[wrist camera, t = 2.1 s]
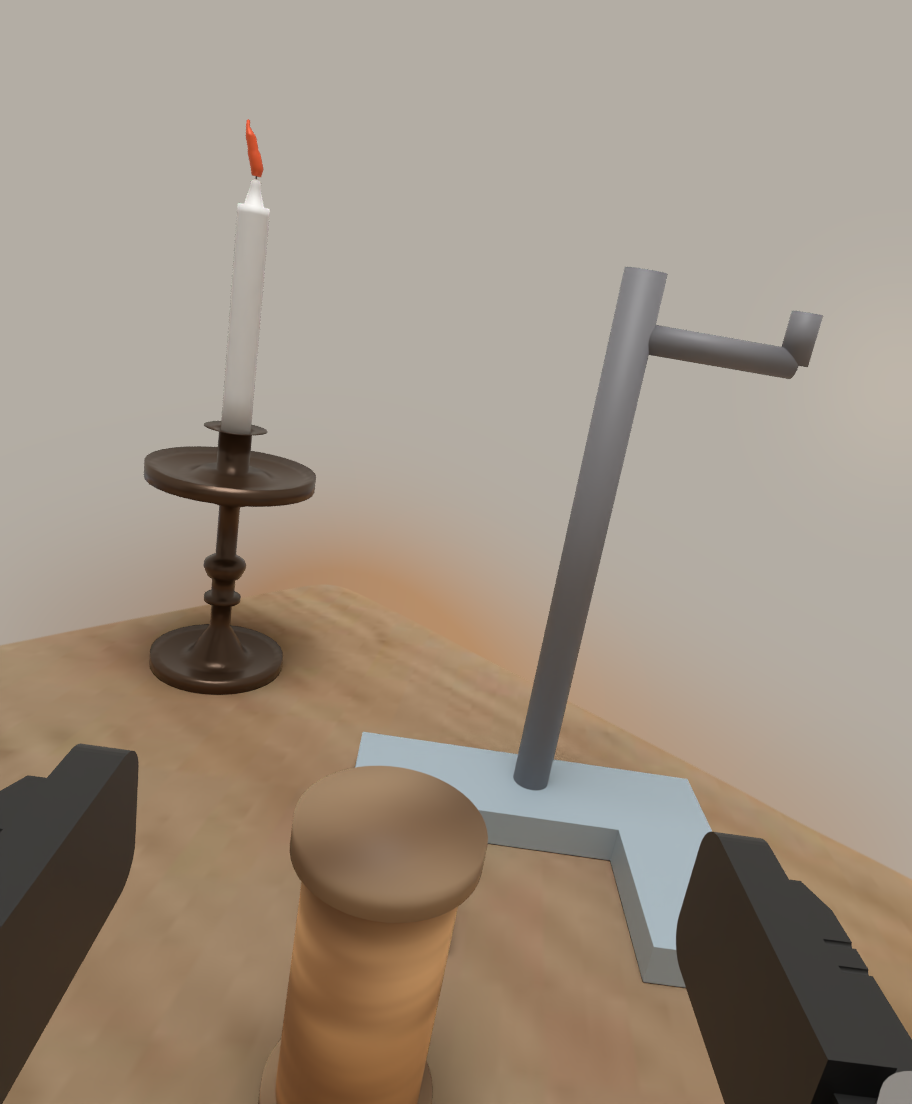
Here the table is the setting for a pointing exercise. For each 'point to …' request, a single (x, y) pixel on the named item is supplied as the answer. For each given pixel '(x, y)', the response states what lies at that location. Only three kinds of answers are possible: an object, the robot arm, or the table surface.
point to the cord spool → (371, 934)
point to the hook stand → (532, 775)
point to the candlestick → (230, 485)
